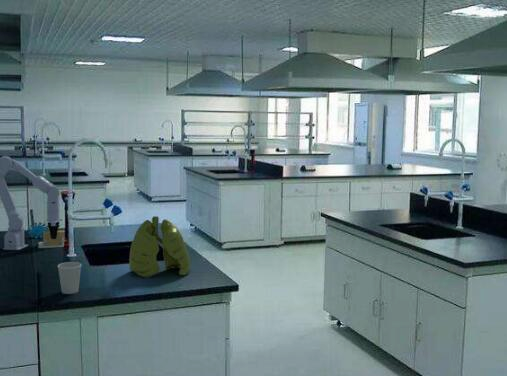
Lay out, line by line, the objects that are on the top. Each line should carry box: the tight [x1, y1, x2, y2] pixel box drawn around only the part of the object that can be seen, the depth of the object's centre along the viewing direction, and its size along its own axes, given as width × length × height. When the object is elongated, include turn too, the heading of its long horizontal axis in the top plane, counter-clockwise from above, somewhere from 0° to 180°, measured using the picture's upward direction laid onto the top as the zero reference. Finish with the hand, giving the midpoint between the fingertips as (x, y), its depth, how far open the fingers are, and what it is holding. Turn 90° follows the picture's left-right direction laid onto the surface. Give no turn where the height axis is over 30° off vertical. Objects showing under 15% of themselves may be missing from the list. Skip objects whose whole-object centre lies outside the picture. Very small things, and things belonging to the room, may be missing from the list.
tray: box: [37, 238, 65, 249], centre depth 274 cm, size 14×10×4 cm
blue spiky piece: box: [27, 222, 49, 240], centre depth 292 cm, size 11×6×10 cm
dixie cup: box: [57, 261, 82, 295], centre depth 202 cm, size 8×8×10 cm
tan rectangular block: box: [42, 229, 66, 245], centre depth 273 cm, size 10×4×6 cm, turn 110°
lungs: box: [128, 215, 191, 278], centre depth 228 cm, size 25×16×24 cm, turn 104°
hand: (53, 237), depth 273 cm, fingers open, 5 cm apart
